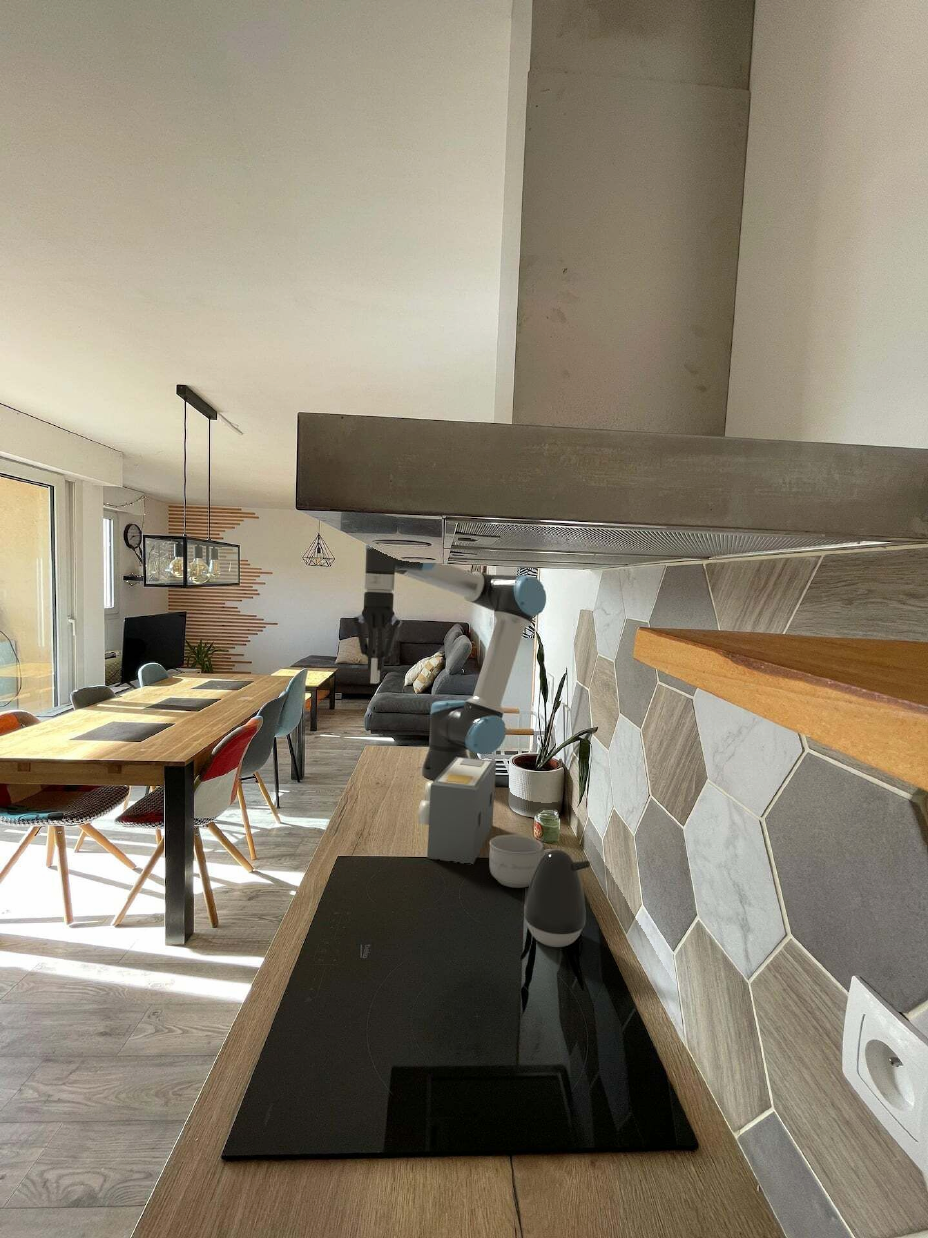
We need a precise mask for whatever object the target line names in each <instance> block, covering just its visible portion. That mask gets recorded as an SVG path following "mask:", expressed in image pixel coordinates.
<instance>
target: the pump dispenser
mask: <svg viewBox="0 0 928 1238" xmlns="http://www.w3.org/2000/svg"><path fill="white" fill-rule="evenodd" d="M590 867H591V862H590V861H589V860H588V859H587V860H580V861H574V859H573V858H572V856H571V855H570V854H569V852H567V851H566V850H563V849H559V848H558V849H557V848H556V849H553V850H551V851H549V852H547V853H546V854H545V855H544V856H543V858H542V859H541V861H540V862H539V864H538V866H537V868H536V870H535V873H534V875H533V877H532V880H531V883H530V885H529V886H528V891H527V893H526V895H527V896H526V900H525V904H524V918H525V921H526V924H527V928H528V930H529V932H530V933H531V935H532V936H533V938H534V939H535V940H537V941H538V942H539V943H541V944H542V945H545V946H548V947H551V948H552V947H553V948H562V947H567V946H569V945H571V944H573V943H574V942H575V941H576V940H577V939H578V938H579V936H580V935H581V933H582V931H583V928H584V927H585V925H586V917H587V914H586V913H587V912H586V911H587V910H586V900H585V893H584V888H583V883H582V878H581V876H580V872H579V871H581V870H585V869H587V868H590Z"/></svg>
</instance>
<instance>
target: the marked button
mask: <svg viewBox="0 0 928 1238" xmlns="http://www.w3.org/2000/svg"><path fill="white" fill-rule="evenodd" d="M429 812H430V801H425V800H424V799H422V800H421V801H420V803H419V807H418V812H417V821H418V824H421V825H426V826H427V825H428V826H429Z"/></svg>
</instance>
